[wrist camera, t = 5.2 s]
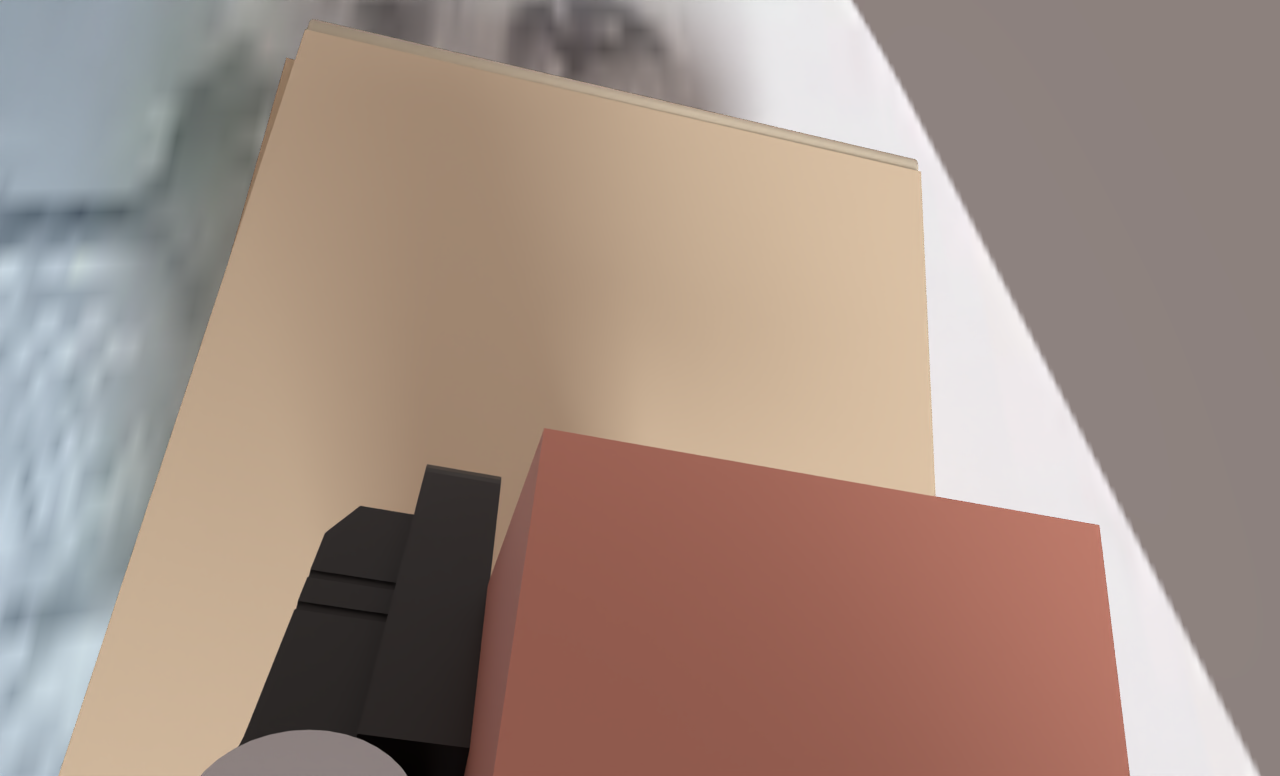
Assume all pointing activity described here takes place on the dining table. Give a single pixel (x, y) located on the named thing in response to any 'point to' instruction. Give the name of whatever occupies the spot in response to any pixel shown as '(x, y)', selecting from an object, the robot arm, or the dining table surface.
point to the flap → (601, 446)
